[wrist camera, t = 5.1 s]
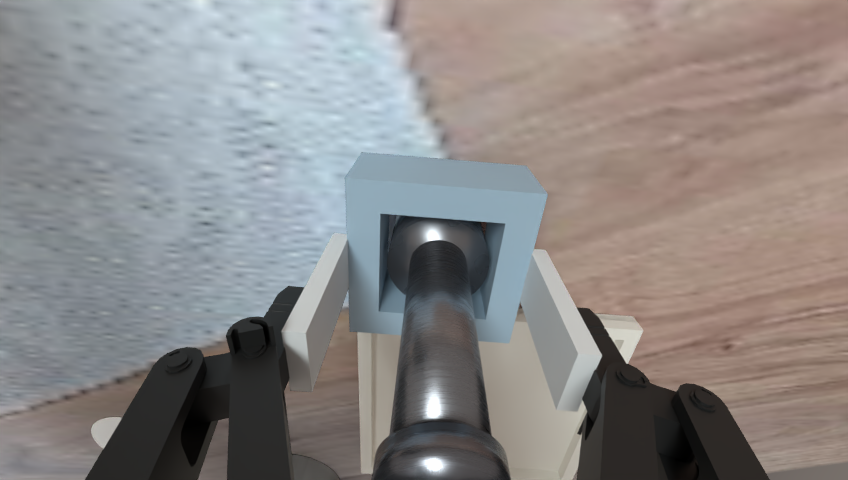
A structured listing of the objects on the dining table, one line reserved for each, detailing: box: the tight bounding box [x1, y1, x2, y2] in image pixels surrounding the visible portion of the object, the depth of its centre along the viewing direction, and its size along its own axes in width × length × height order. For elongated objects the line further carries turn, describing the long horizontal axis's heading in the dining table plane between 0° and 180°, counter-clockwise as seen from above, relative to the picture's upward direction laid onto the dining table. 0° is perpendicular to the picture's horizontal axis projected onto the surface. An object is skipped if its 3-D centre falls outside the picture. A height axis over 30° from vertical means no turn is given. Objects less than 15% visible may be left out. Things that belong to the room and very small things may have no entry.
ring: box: [345, 152, 548, 343], centre depth 19 cm, size 8×8×4 cm
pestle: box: [372, 215, 511, 480], centre depth 16 cm, size 5×5×16 cm
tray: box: [357, 308, 643, 480], centre depth 30 cm, size 20×20×2 cm
